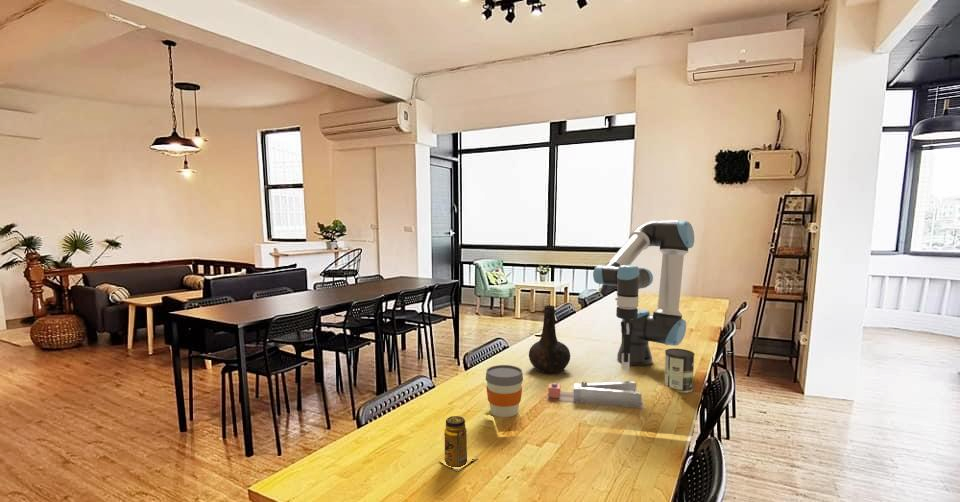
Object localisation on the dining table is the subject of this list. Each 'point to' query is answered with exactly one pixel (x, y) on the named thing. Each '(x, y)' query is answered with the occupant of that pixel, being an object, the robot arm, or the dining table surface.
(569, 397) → the board
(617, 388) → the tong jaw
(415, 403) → the dining table surface
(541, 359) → the dark brown vase
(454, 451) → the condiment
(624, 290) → the robot arm
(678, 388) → the coffee can
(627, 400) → the grey long bar
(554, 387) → the tab
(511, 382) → the reusable coffee cup
